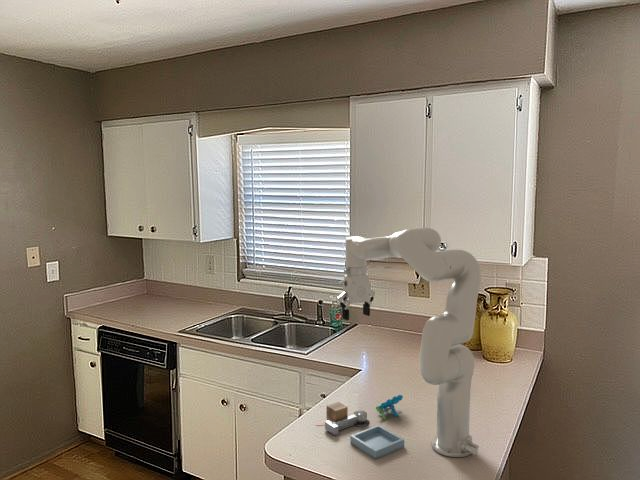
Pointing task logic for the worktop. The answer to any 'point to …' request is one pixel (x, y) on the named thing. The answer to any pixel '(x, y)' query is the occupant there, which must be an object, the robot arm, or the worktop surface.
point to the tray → (377, 441)
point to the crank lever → (346, 422)
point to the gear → (389, 405)
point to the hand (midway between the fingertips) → (356, 317)
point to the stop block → (336, 411)
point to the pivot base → (354, 425)
